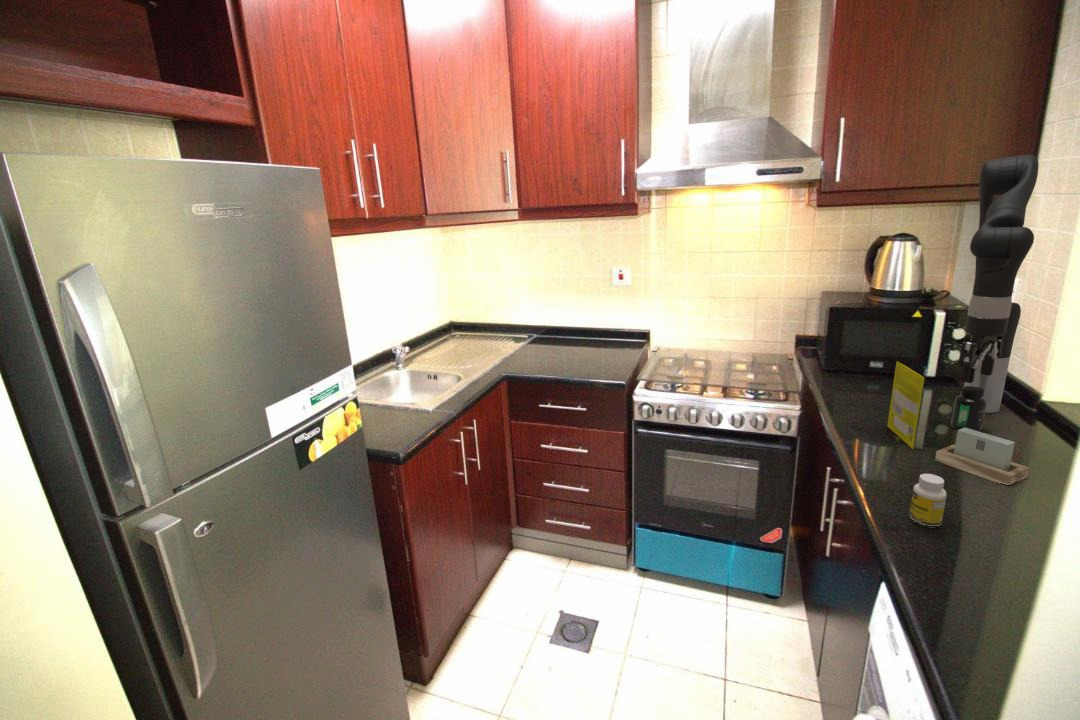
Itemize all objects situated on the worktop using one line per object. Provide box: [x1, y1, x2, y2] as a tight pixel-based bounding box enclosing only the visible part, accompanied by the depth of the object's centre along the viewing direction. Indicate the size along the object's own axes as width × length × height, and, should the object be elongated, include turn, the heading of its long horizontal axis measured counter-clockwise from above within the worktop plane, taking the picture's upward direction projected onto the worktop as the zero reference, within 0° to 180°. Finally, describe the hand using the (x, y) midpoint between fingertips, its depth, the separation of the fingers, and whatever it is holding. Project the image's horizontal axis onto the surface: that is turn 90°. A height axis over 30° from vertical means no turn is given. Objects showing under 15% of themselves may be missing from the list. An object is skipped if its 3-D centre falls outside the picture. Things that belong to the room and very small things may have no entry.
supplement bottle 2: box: [950, 385, 987, 432], centre depth 143 cm, size 7×7×12 cm
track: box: [934, 443, 1030, 485], centre depth 123 cm, size 8×15×3 cm, turn 25°
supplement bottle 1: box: [908, 473, 947, 527], centre depth 104 cm, size 5×5×10 cm
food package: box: [887, 360, 925, 450], centre depth 139 cm, size 15×1×20 cm, turn 168°
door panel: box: [954, 428, 1016, 472], centre depth 122 cm, size 3×10×8 cm, turn 25°
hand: (976, 378), depth 125 cm, fingers open, 8 cm apart
